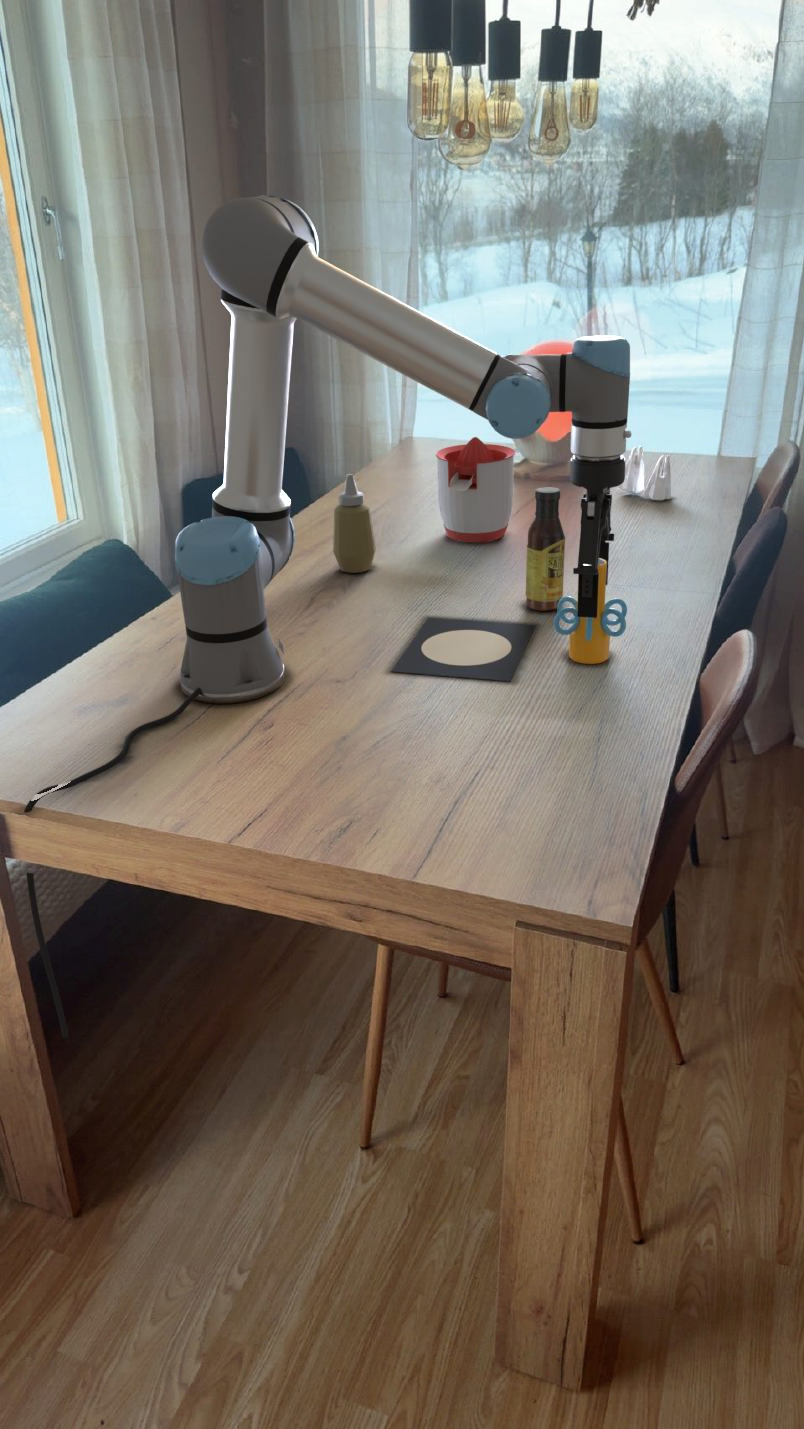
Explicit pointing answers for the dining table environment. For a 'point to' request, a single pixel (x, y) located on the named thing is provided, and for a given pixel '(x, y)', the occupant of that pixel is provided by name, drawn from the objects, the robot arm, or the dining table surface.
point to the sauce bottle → (545, 553)
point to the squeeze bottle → (353, 530)
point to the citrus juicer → (475, 490)
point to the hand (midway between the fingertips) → (592, 599)
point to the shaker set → (658, 482)
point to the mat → (466, 649)
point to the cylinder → (591, 624)
